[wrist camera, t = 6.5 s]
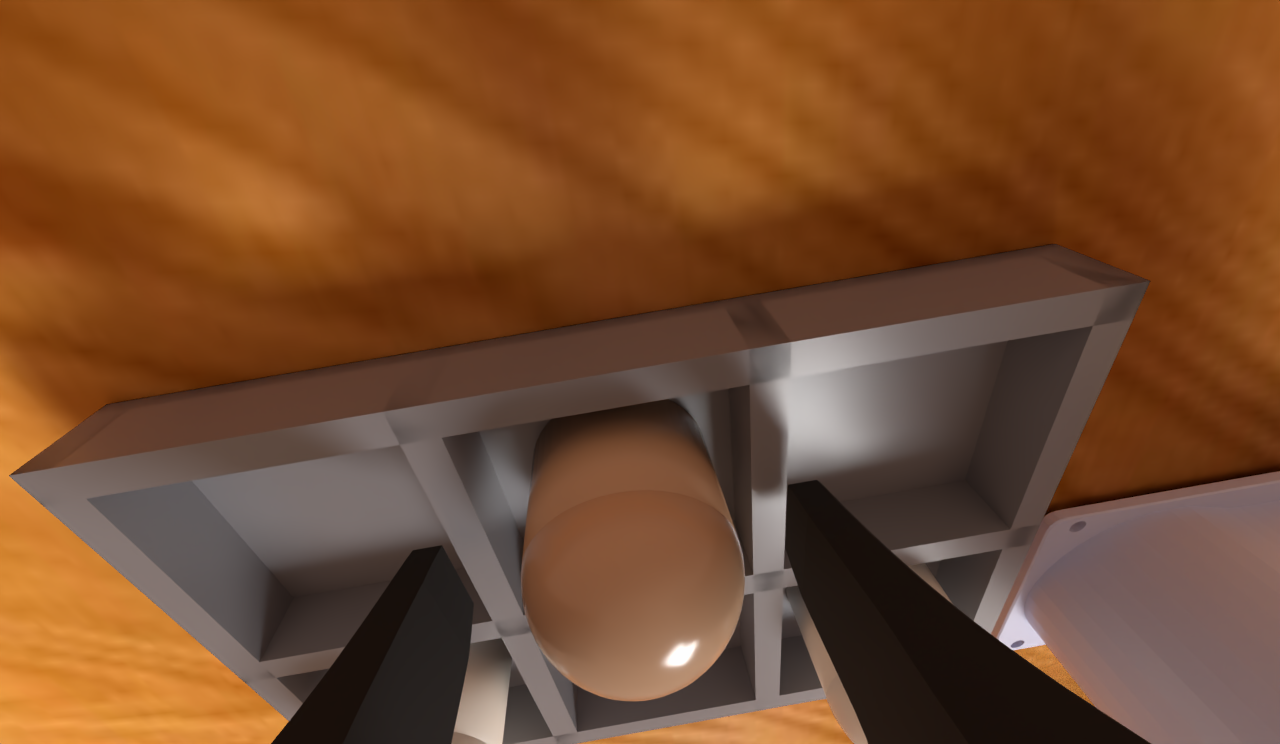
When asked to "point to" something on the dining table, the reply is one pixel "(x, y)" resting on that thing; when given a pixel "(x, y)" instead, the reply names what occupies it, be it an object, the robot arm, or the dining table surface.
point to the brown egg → (629, 552)
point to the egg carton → (587, 382)
